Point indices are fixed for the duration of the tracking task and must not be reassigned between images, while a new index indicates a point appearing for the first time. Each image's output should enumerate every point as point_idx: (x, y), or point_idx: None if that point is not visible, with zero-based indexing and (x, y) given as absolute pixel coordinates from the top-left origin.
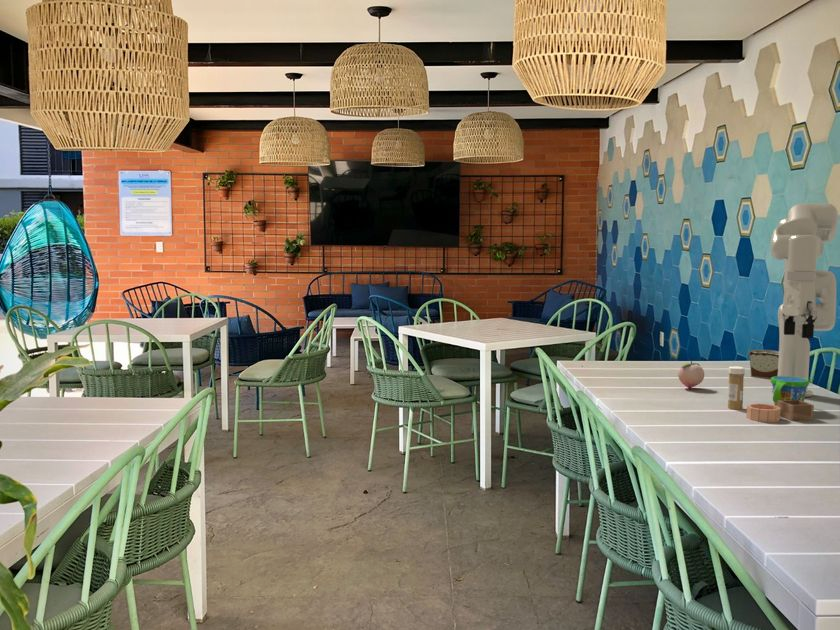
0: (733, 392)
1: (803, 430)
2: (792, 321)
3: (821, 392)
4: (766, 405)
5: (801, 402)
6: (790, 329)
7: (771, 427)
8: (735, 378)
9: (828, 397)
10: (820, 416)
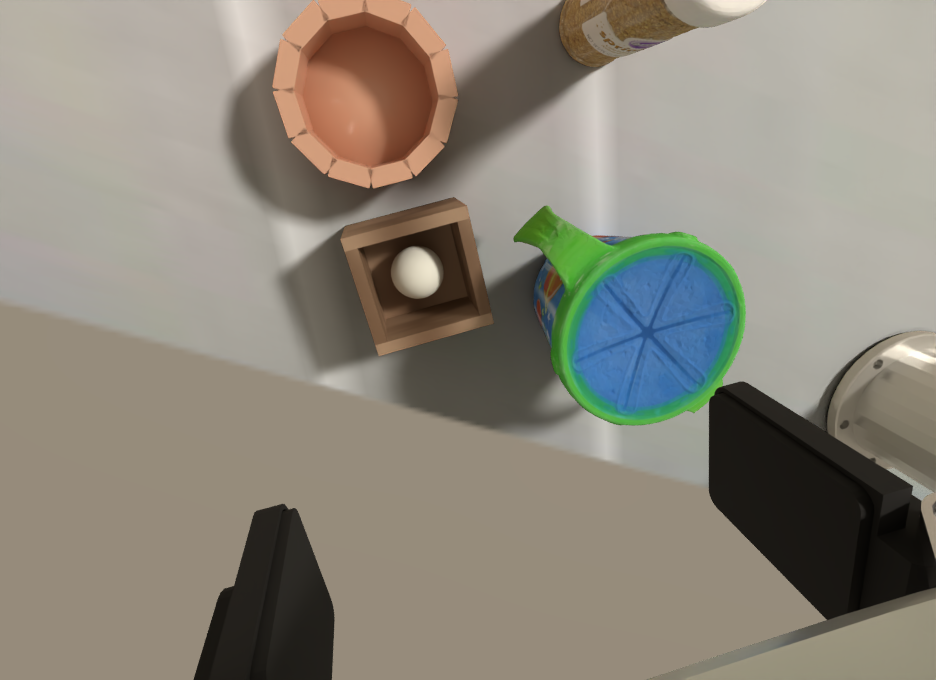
0: None
1: (182, 233)
2: (865, 605)
3: None
4: (430, 132)
5: (456, 321)
6: (754, 490)
7: (206, 90)
8: None
9: None
10: (492, 388)
